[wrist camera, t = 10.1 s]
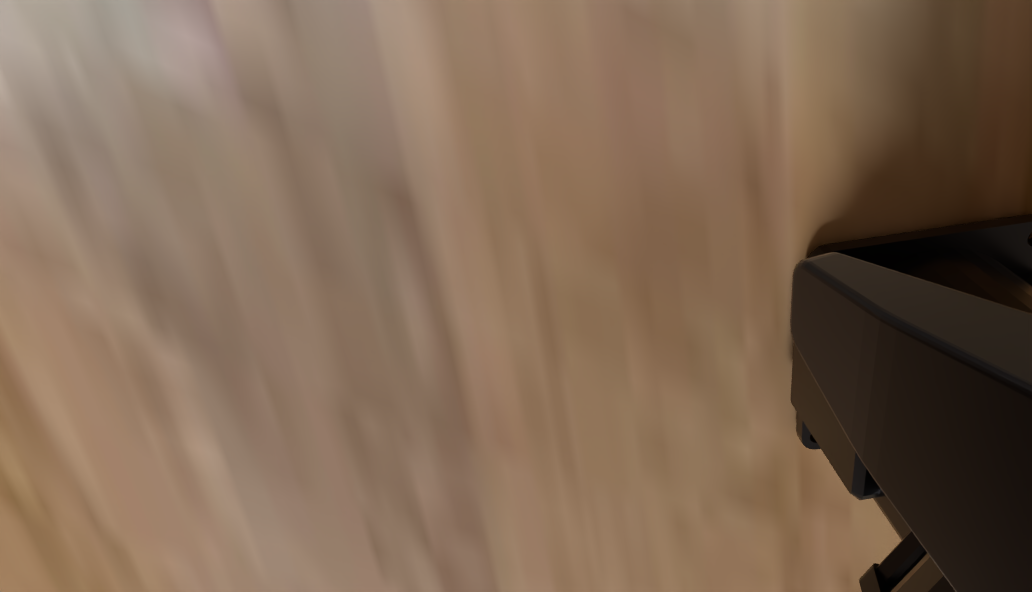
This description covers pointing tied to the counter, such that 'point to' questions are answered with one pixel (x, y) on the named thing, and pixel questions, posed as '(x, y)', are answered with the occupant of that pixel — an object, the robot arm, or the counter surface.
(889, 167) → the counter surface
